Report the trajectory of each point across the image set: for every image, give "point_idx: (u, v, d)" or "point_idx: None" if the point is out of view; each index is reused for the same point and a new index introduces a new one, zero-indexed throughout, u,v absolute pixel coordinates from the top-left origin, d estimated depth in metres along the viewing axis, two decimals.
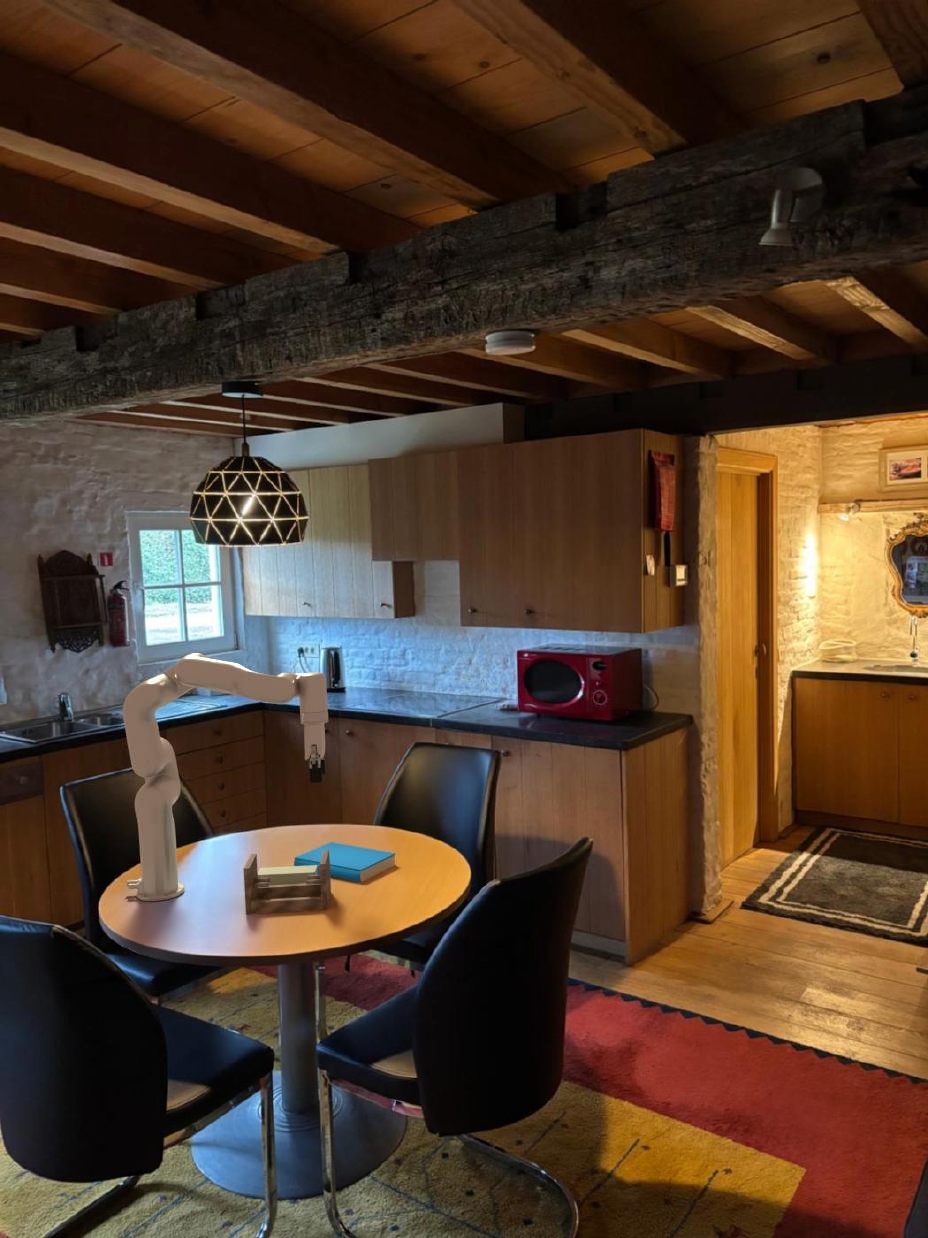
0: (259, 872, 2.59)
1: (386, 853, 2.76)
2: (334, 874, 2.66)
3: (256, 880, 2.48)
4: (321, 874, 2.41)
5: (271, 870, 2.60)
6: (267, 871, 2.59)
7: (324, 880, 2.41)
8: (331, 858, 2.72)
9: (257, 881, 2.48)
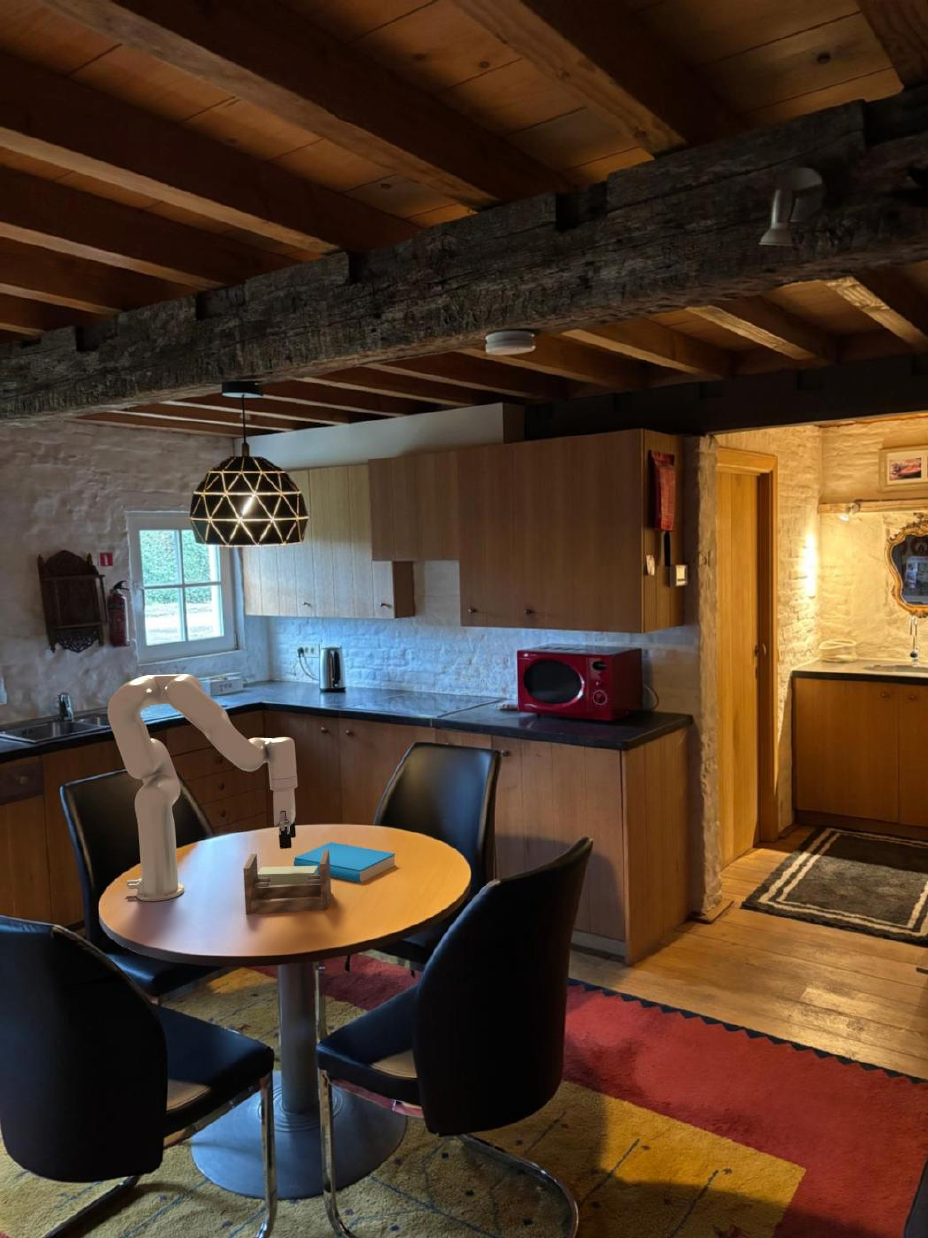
0: (259, 871, 2.59)
1: (386, 853, 2.75)
2: (334, 874, 2.66)
3: (256, 880, 2.48)
4: (321, 874, 2.41)
5: (271, 870, 2.60)
6: (268, 870, 2.60)
7: (324, 880, 2.41)
8: (331, 858, 2.72)
9: (257, 881, 2.48)
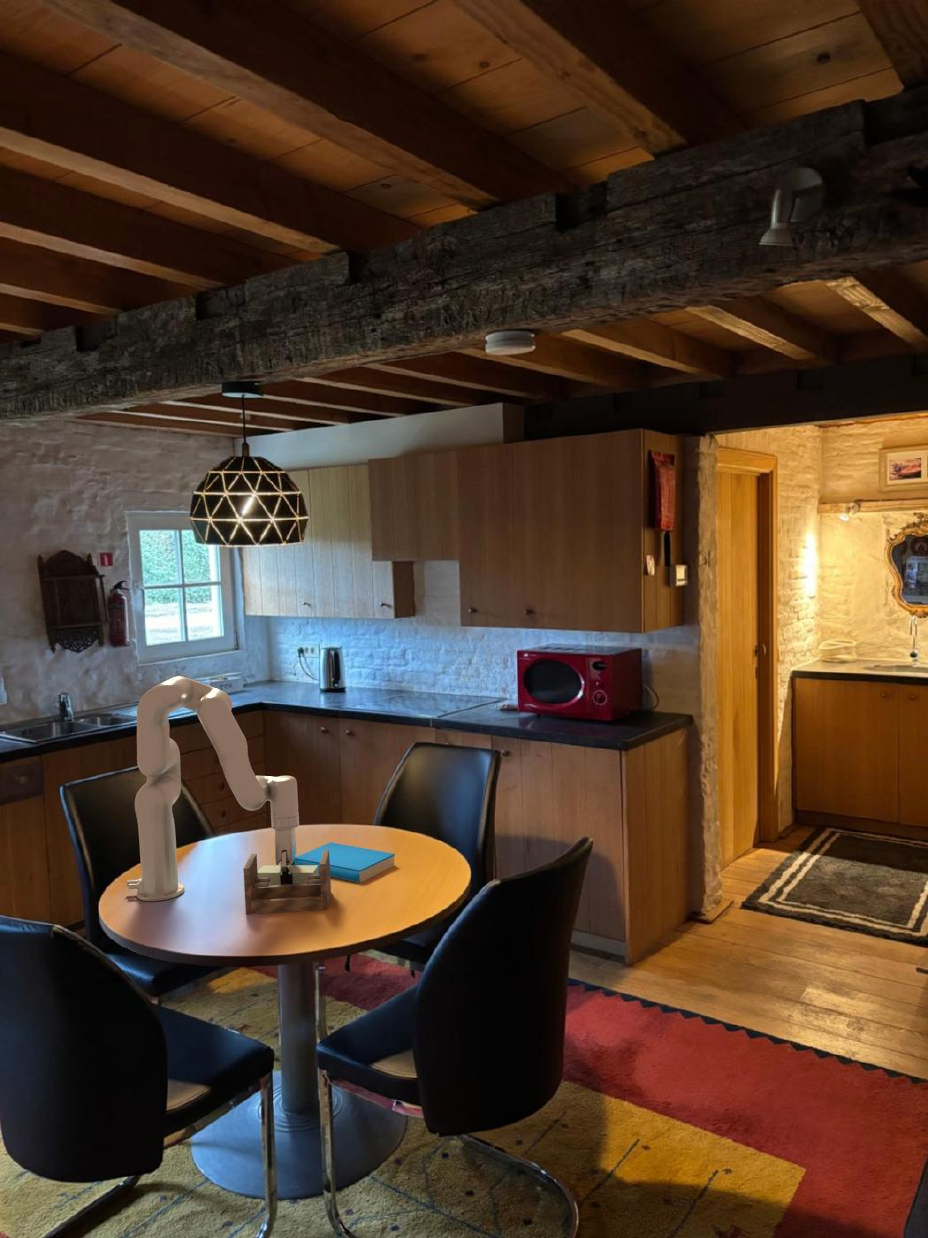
0: (260, 870, 2.60)
1: (386, 853, 2.75)
2: (334, 875, 2.66)
3: (256, 880, 2.48)
4: (321, 874, 2.41)
5: (271, 868, 2.61)
6: (268, 869, 2.60)
7: (324, 880, 2.41)
8: (330, 858, 2.72)
9: (257, 881, 2.48)
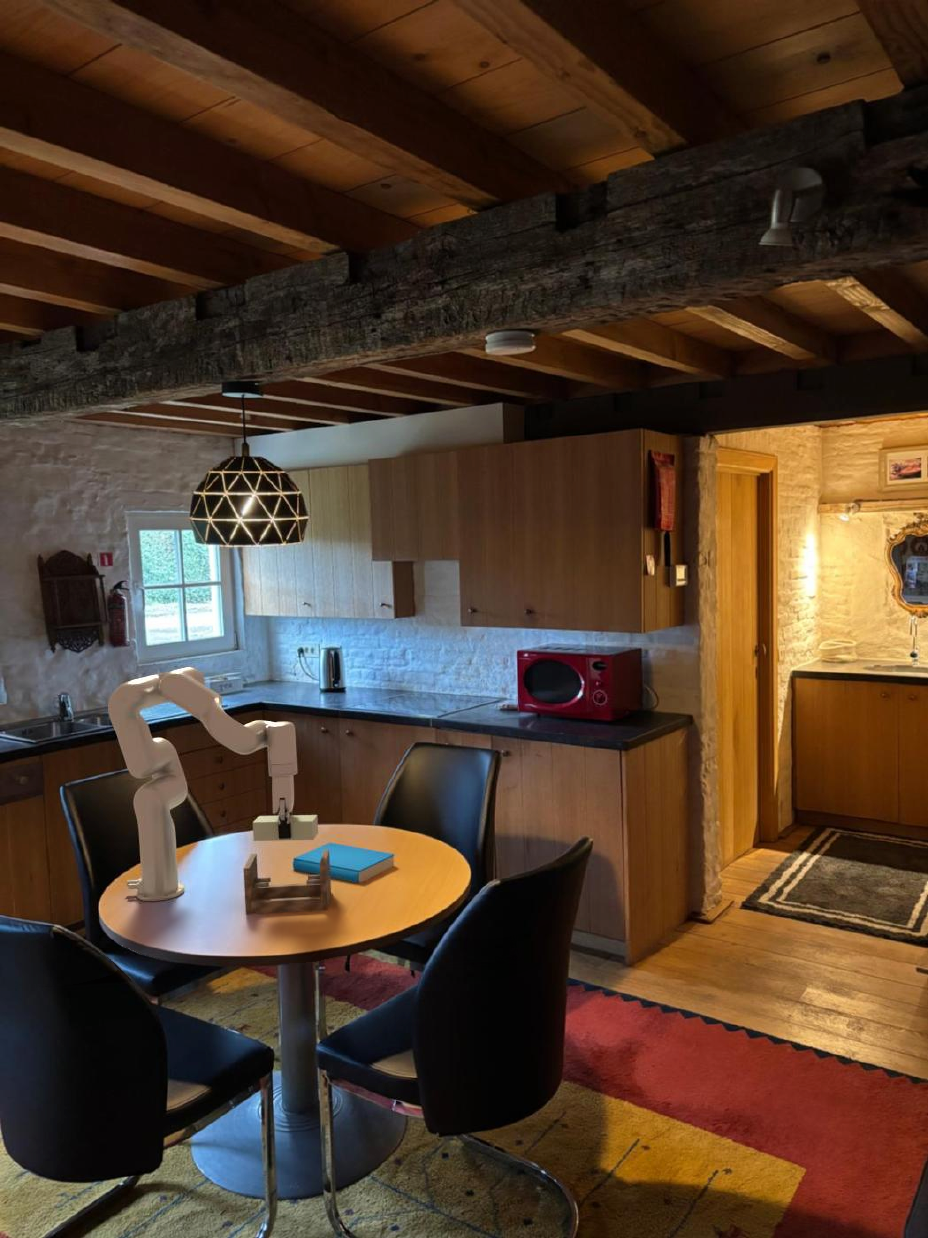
0: (256, 820, 2.49)
1: (385, 853, 2.75)
2: (333, 875, 2.66)
3: (256, 880, 2.48)
4: (321, 874, 2.41)
5: (268, 818, 2.50)
6: (265, 819, 2.49)
7: (324, 880, 2.41)
8: (330, 859, 2.72)
9: (257, 881, 2.48)
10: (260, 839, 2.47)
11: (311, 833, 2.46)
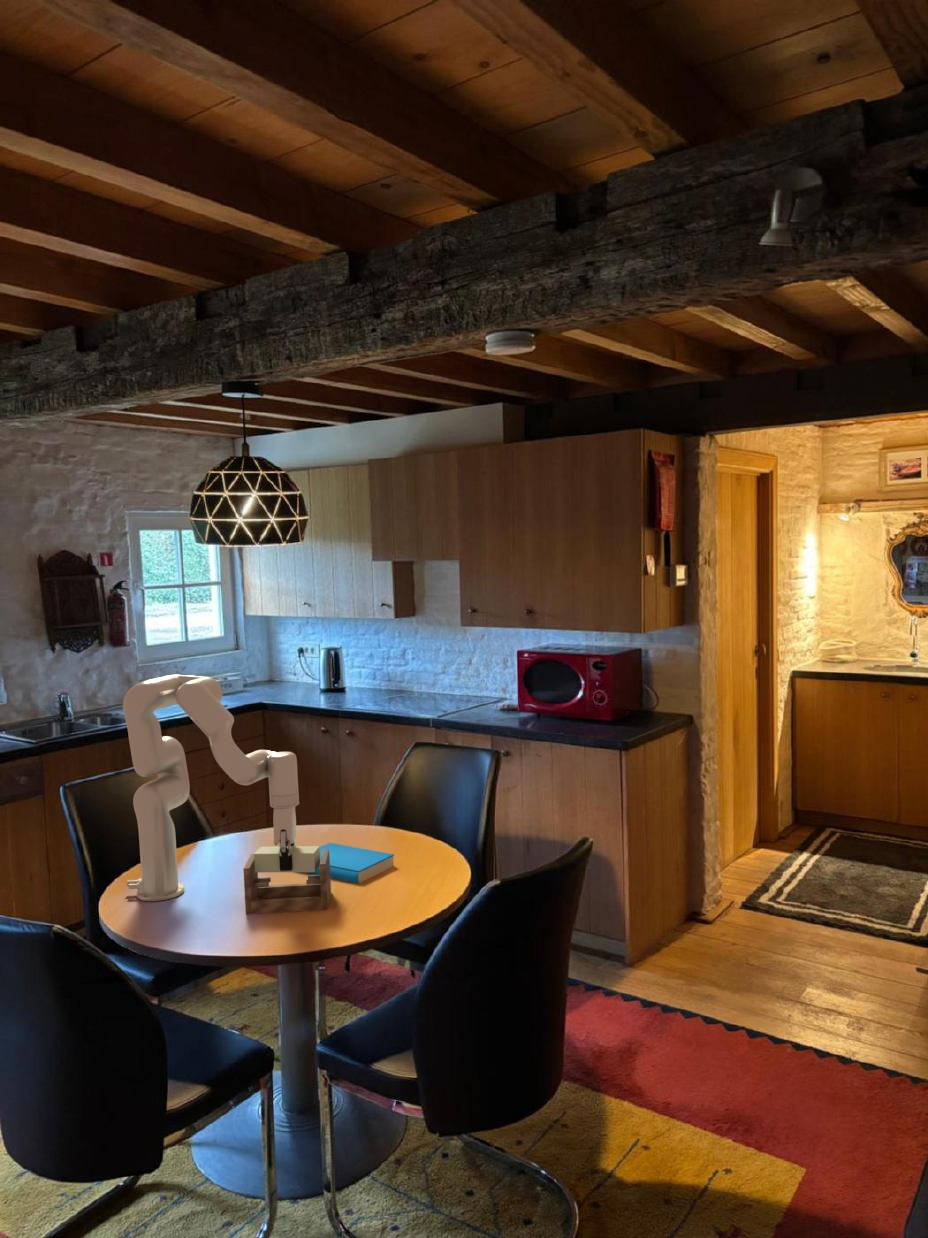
0: (258, 851, 2.46)
1: (385, 854, 2.75)
2: (332, 875, 2.65)
3: (256, 880, 2.48)
4: (321, 874, 2.41)
5: (270, 849, 2.47)
6: (267, 850, 2.47)
7: (324, 880, 2.41)
8: None
9: (257, 881, 2.48)
10: (261, 871, 2.44)
11: (313, 865, 2.43)
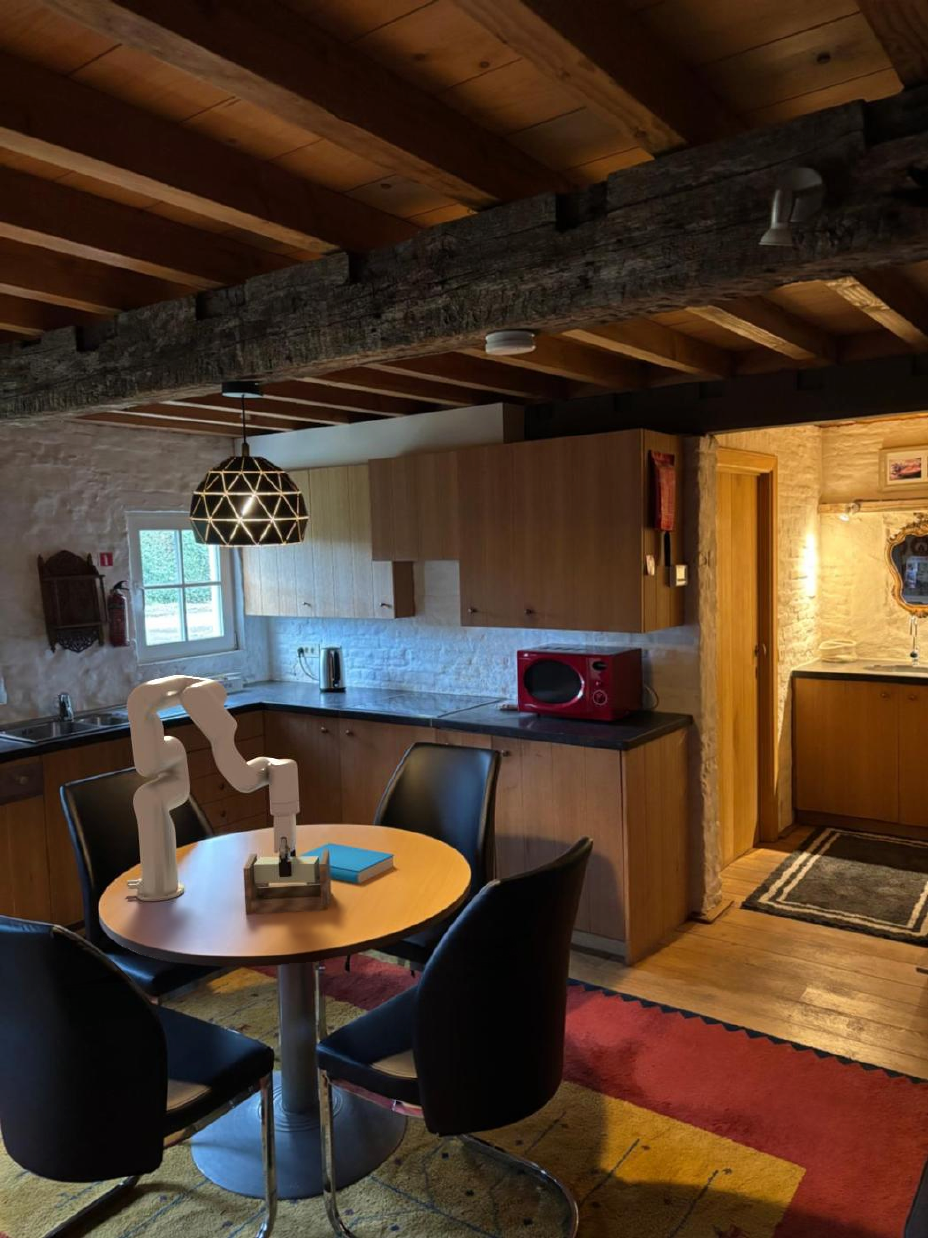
0: (257, 861, 2.46)
1: (385, 854, 2.75)
2: (332, 875, 2.65)
3: None
4: (321, 874, 2.41)
5: (270, 860, 2.47)
6: (266, 860, 2.47)
7: (324, 880, 2.41)
8: None
9: None
10: (261, 881, 2.44)
11: (312, 875, 2.43)
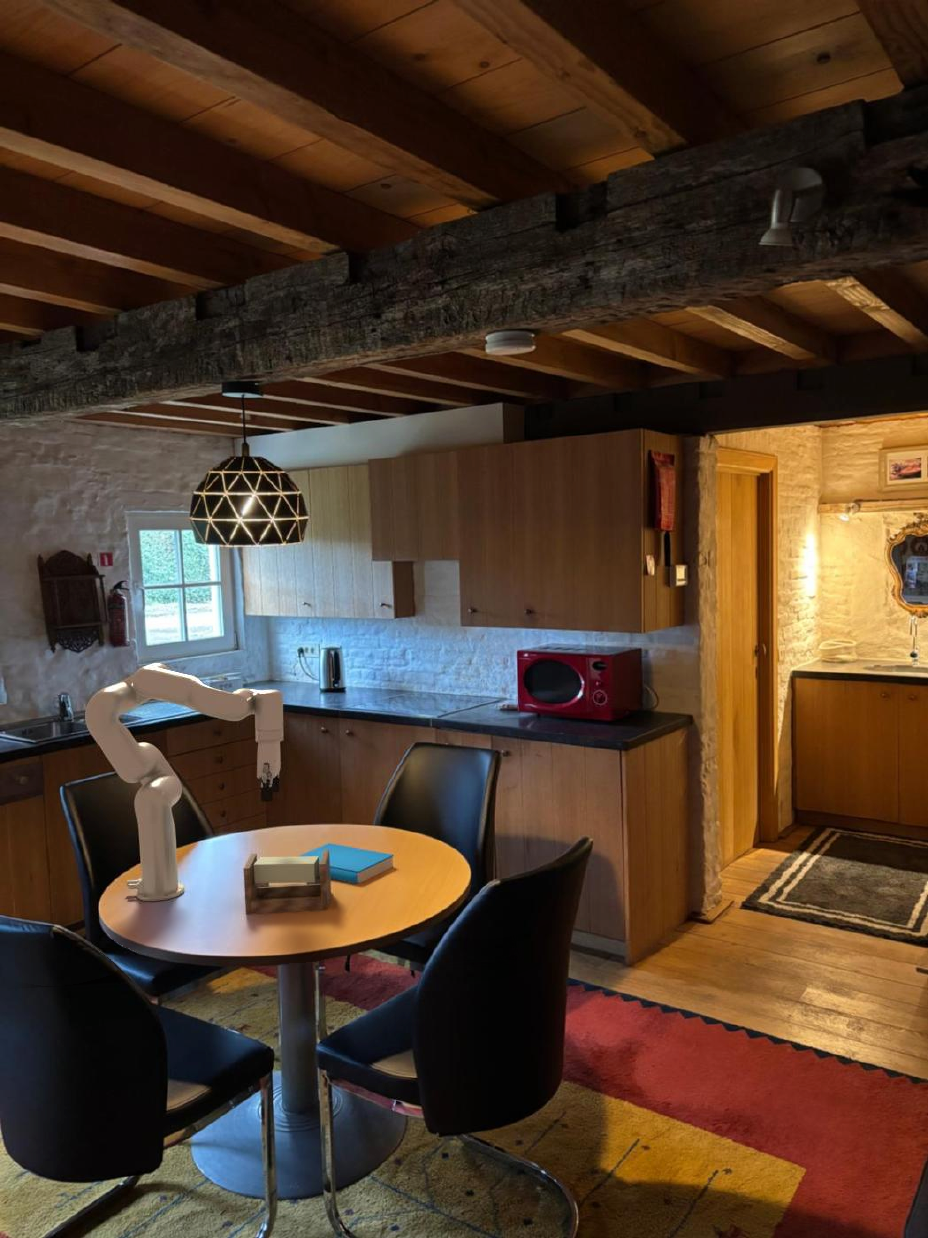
0: (257, 861, 2.46)
1: (384, 854, 2.74)
2: (332, 876, 2.65)
3: None
4: (321, 874, 2.41)
5: (270, 860, 2.47)
6: (266, 860, 2.47)
7: (324, 880, 2.41)
8: None
9: None
10: (261, 881, 2.44)
11: (312, 875, 2.43)
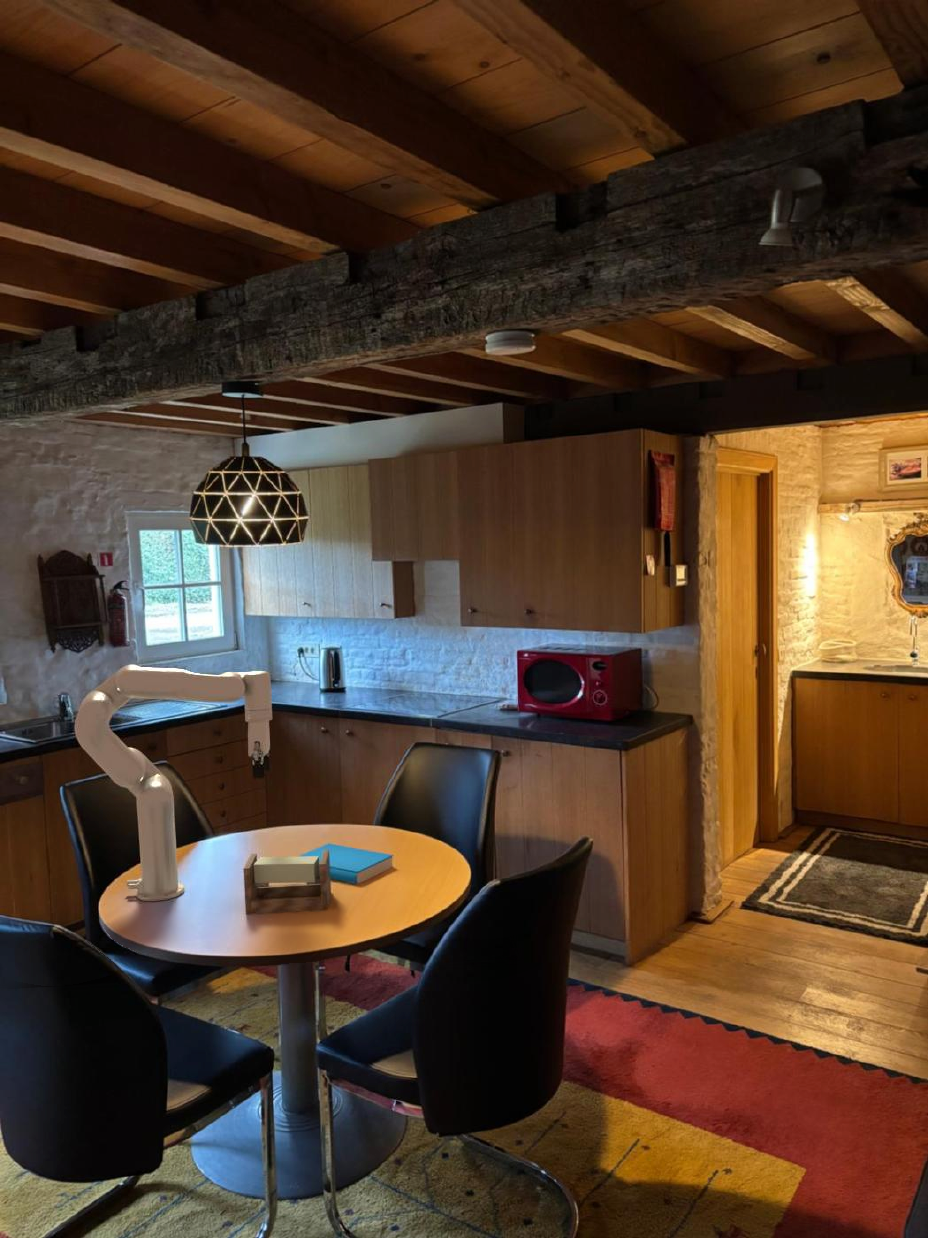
0: (257, 861, 2.46)
1: (384, 854, 2.74)
2: (331, 876, 2.65)
3: None
4: (321, 874, 2.41)
5: (270, 860, 2.47)
6: (266, 860, 2.47)
7: (324, 880, 2.41)
8: None
9: None
10: (261, 881, 2.44)
11: (312, 875, 2.43)
